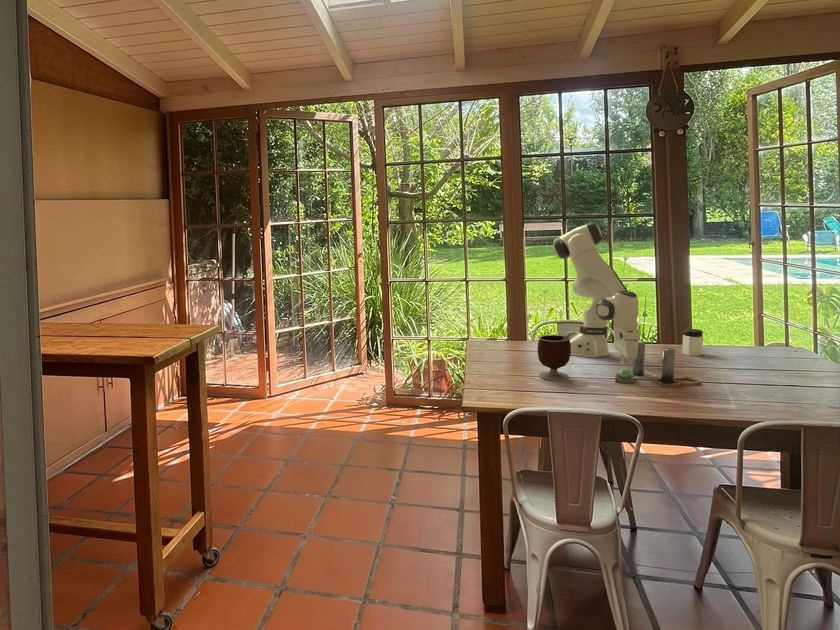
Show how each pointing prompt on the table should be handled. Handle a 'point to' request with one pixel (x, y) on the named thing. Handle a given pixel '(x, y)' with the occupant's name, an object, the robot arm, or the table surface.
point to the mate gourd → (554, 355)
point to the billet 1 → (639, 361)
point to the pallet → (677, 382)
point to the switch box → (624, 379)
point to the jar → (692, 342)
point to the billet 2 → (667, 365)
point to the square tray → (646, 376)
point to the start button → (624, 373)
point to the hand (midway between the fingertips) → (624, 364)
